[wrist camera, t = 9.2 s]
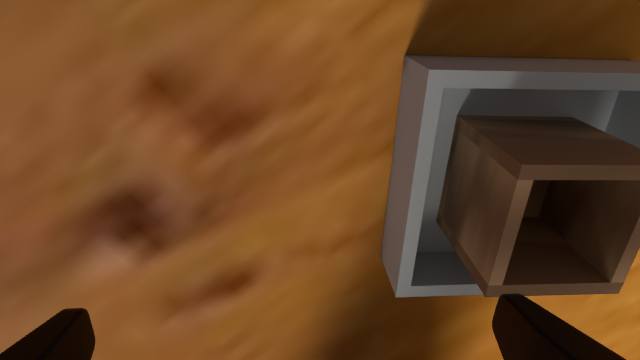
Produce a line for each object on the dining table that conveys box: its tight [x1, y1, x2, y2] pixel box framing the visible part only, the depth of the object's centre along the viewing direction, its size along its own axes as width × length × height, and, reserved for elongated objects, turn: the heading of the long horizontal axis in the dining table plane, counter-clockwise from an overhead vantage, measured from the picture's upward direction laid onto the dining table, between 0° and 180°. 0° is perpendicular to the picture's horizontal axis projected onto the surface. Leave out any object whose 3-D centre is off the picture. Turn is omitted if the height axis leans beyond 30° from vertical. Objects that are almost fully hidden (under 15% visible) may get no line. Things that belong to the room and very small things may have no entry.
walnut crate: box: [436, 115, 640, 297], centre depth 19 cm, size 6×6×6 cm
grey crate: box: [381, 55, 640, 297], centre depth 21 cm, size 11×11×4 cm
